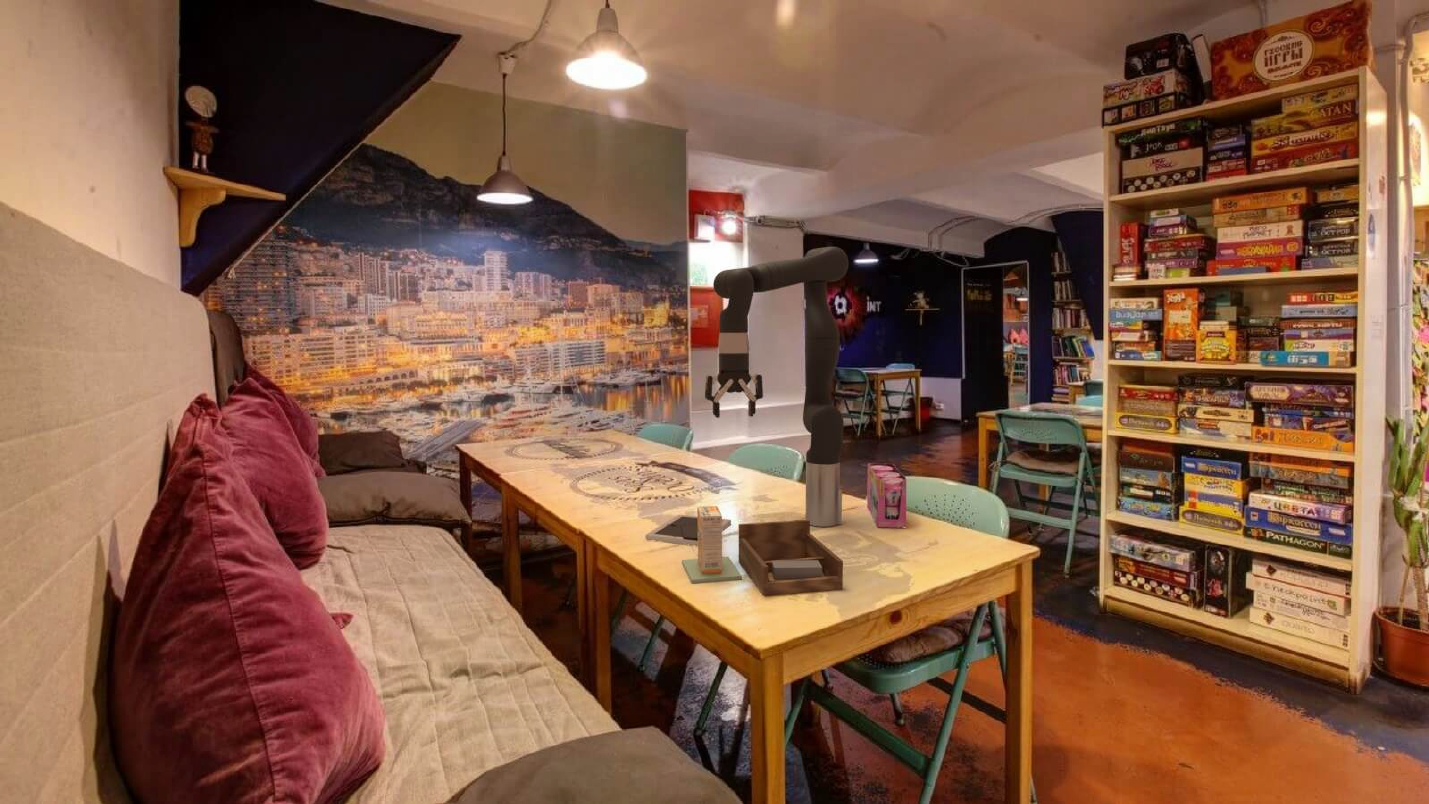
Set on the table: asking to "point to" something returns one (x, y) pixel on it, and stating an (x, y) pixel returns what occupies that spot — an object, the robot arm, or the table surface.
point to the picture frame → (680, 530)
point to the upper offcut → (796, 569)
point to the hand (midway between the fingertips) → (734, 416)
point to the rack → (786, 556)
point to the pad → (727, 573)
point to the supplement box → (709, 539)
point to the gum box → (886, 495)
